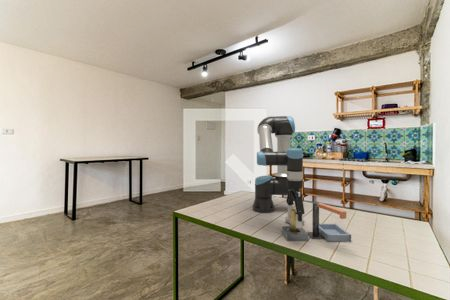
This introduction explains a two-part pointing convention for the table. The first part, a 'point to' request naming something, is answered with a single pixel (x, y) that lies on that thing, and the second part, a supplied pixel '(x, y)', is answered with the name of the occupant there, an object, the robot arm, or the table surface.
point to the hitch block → (294, 234)
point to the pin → (293, 221)
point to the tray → (334, 233)
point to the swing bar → (331, 209)
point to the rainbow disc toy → (290, 220)
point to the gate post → (315, 225)
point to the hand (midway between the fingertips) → (294, 222)
